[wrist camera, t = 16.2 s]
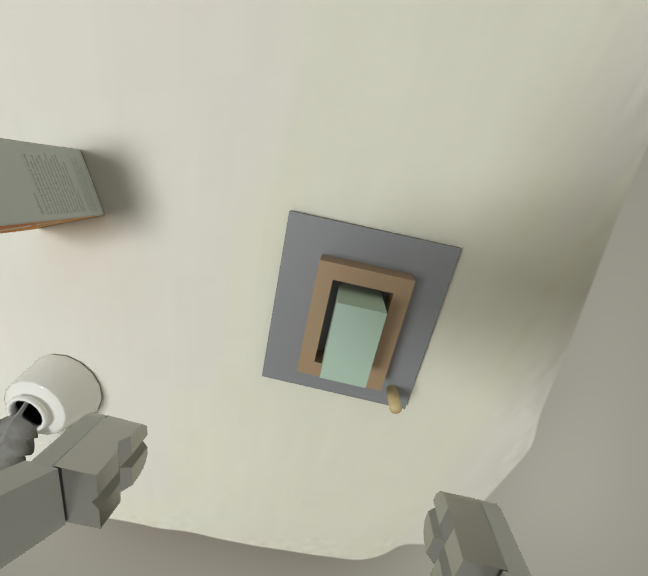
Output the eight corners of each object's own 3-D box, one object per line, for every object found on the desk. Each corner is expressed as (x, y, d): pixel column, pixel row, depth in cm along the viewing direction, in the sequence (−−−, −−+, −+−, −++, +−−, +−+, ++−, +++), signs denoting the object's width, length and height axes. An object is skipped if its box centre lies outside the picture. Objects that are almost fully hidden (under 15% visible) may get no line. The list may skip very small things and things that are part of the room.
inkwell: (104, 366, 36) (17, 428, 27) (98, 475, 42) (24, 559, 33) (29, 343, 36) (-85, 398, 27) (33, 456, 42) (-60, 534, 33)
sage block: (325, 344, 32) (319, 377, 26) (340, 281, 30) (337, 302, 24) (363, 352, 32) (365, 387, 26) (380, 290, 30) (387, 313, 24)
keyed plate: (291, 210, 29) (282, 213, 25) (458, 247, 29) (473, 255, 25) (263, 371, 35) (253, 393, 31) (403, 404, 34) (409, 429, 31)
